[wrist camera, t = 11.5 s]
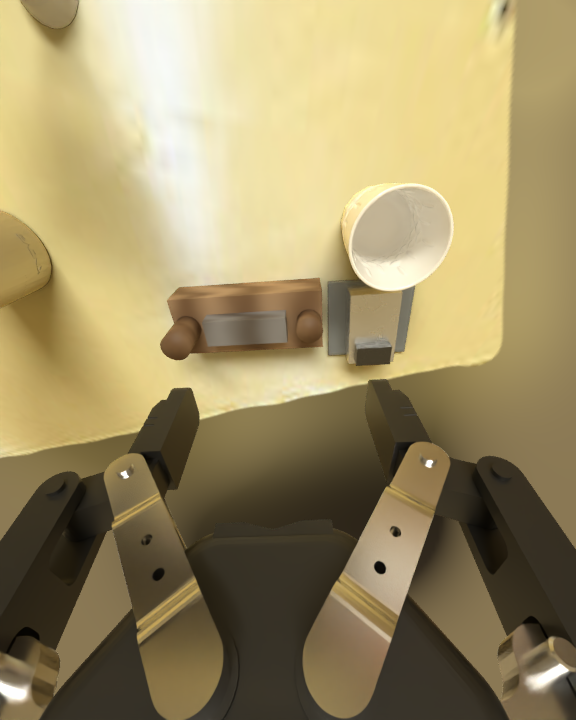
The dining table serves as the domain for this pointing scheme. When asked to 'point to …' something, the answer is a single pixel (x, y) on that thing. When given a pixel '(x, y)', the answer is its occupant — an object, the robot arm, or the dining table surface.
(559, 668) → the robot arm
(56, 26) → the chalice
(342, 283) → the slate mat
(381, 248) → the white cup
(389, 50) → the dining table surface
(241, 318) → the plane body
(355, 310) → the lever cap
